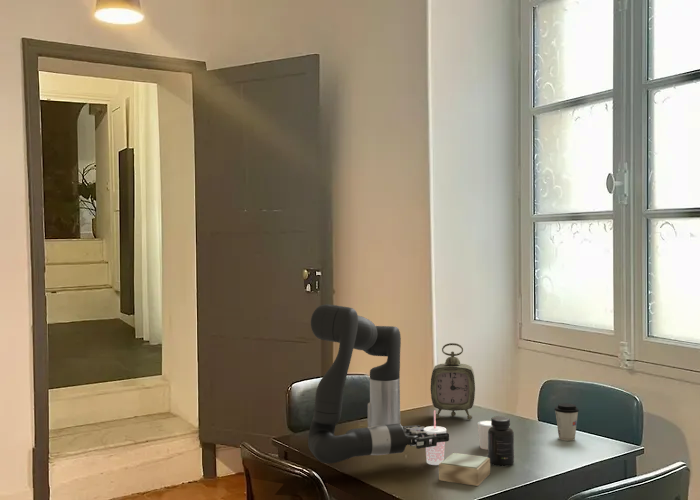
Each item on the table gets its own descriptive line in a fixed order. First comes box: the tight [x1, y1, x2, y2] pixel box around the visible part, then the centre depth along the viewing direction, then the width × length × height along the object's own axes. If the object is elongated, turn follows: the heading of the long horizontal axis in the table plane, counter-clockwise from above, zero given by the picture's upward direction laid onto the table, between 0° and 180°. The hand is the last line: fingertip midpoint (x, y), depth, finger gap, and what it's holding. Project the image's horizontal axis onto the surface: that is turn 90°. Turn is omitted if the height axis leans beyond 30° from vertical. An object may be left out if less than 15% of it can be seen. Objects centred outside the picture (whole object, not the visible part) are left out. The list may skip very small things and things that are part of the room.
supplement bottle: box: [487, 415, 515, 467], centre depth 193 cm, size 7×7×12 cm
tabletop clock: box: [430, 342, 476, 421], centre depth 242 cm, size 14×9×25 cm, turn 81°
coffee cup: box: [553, 402, 580, 442], centre depth 216 cm, size 7×7×10 cm
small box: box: [438, 452, 491, 487], centre depth 182 cm, size 10×10×4 cm
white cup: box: [477, 419, 492, 451], centre depth 208 cm, size 7×7×7 cm
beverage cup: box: [423, 409, 447, 466], centre depth 194 cm, size 6×6×14 cm
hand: (443, 433), depth 195 cm, fingers closed on beverage cup, 6 cm apart
